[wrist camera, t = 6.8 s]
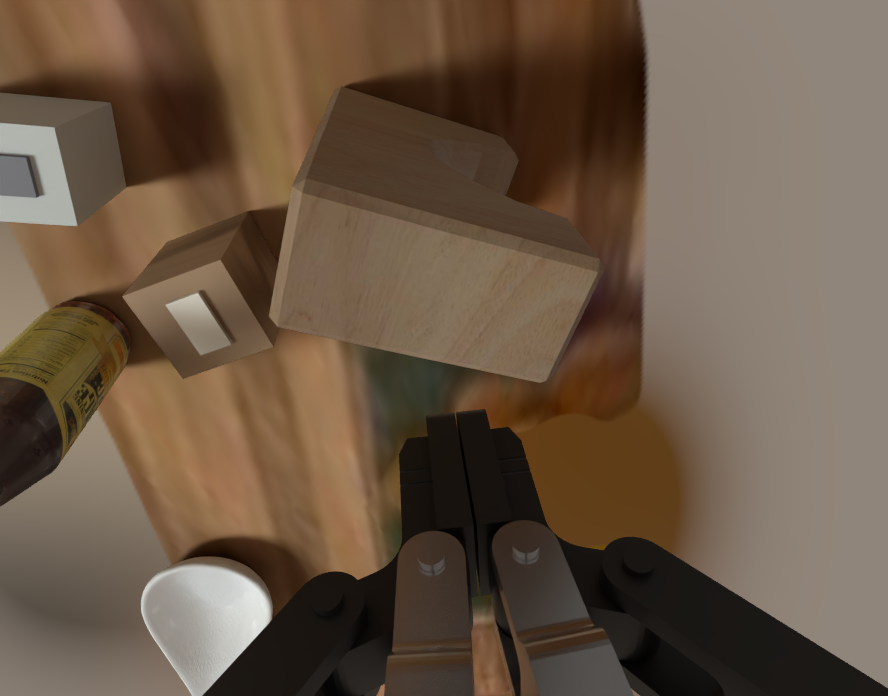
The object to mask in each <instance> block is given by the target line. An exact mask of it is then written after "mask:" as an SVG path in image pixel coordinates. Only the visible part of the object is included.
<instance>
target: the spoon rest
mask: <svg viewBox="0 0 888 696" xmlns="http://www.w3.org/2000/svg"><path fill="white" fill-rule="evenodd" d="M141 611H142V615H143V618H144V621H145V623H146V625H147V628H148V629H149V631H150V633H151V635H152V637H153V638H154V640H155V641H156V642H157V644H158V646H159V647H160V648H161V650H162V651H163V653H164V654H165V656H166V657H167V659H168V660H169V661H170V663H171V664H172V666H173V667H174V669H175V670H176V671H177V673H178V674H179V676H180V677H181V679H182V680H183V682H184V683H185V685H186V686H187V688H188V690H189V691H190V693H191V694H192V696H202V695H203V694H204V693H205V692H206V691H207V690H208V689H209V688H210V687H211V686H212V685H213V683H214V682H215V681H216V680H217V679H218V678H219V677H220V676H221V675H222V674H223V673H224V671H225V670H226V669H227V668H228V667H229V666H230V665H231V664H232V663H233V662H234V661H235V660H236V658H237V657H238V656H239V655H240V654H241V653H242V652H243V651H244V650H245V649H246V648H247V646H248V645H249V644H250V643H251V642H252V641H253V640H254V639H255V638H256V637H257V636H258V635H259V633H260V632H261V631H262V630H263V629H264V628H265V627H266V626H267V625H268V624H269V623H270V621H271V620H272V614H273V605H272V599H271V596H270V593H269V590H268V588H267V586H266V585H265V583H264V582H263V580H262V579H261V578H260V577H259V576H258V575H257V574H256V573H255V572H254V571H253V570H252V569H250V568H249V567H247V566H245V565H244V564H242V563H239V562H237V561H234V560H231V559H227V558H222V557H213V556H207V557H195V558H191V559H187V560H184V561H181V562H178V563H175V564H173V565H171V566H169V567H167V568H166V569H164V570H162V571H161V572H159V573H158V574H156V575H155V576H154V577H153V578H152V579H151V580H150V581H149V582H148V584H147V585H146V587H145V589H144V592H143V594H142V599H141Z"/></svg>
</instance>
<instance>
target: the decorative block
mask: <svg viewBox="0 0 888 696" xmlns="http://www.w3.org/2000/svg"><path fill="white" fill-rule="evenodd" d="M518 161H519V160H518V158H517V156H516V154H515V152H514V151H513V150H512V148H511V147H510V146H509V145H508V143H507V142H506V141H505V140H504V138H503V137H501V136H498V135H494V134H491V133H488V132H485V131H482V130H479V129H476V128H472V127H469V126H466V125H463V124H460V123H457V122H453V121H450V120H447V119H444V118H441V117H438V116H434V115H431V114H428V113H425V112H422V111H419V110H415V109H412V108H409V107H406V106H403V105H399V104H396V103H393V102H390V101H387V100H384V99H380V98H377V97H374V96H371V95H368V94H365V93H361V92H358V91H355V90H352V89H349V88H345V87H342V86H341V87H340V88H338V89H336V90H335V91H334V93H333V95H332V97H331V100H330V102H329V104H328V107H327V109H326V111H325V113H324V115H323V118H322V120H321V122H320V124H319V127H318V129H317V131H316V134H315V136H314V138H313V140H312V143H311V145H310V147H309V150H308V152H307V154H306V156H305V158H304V161H303V163H302V165H301V167H300V170H299V172H298V174H297V176H296V179H295V181H294V183H293V185H292V190H291V195H290V201H289V206H288V212H287V218H286V223H285V229H284V234H283V240H282V246H281V251H280V257H279V262H278V268H277V274H276V279H275V285H274V290H273V296H272V302H271V307H270V313H269V317H270V318H271V319H272V321H273V322H274V323H275V324H276V326H277V327H280V328H284V329H289V330H294V331H298V332H303V333H308V334H312V335H317V336H322V337H326V338H331V339H336V340H340V341H345V342H350V343H354V344H359V345H364V346H368V347H373V348H378V349H382V350H387V351H392V352H396V353H401V354H406V355H410V356H415V357H420V358H424V359H429V360H434V361H439V362H443V363H448V364H453V365H458V366H463V367H467V368H472V369H477V370H482V371H487V372H491V373H496V374H501V375H506V376H511V377H515V378H520V379H525V380H530V381H535V382H539V383H541V382H544V381H546V380H548V379H550V378H552V376H553V374H554V372H555V370H556V368H557V366H558V364H559V362H560V360H561V358H562V356H563V354H564V352H565V350H566V347H567V345H568V343H569V341H570V339H571V337H572V335H573V333H574V331H575V329H576V327H577V325H578V323H579V321H580V319H581V317H582V315H583V313H584V311H585V308H586V306H587V304H588V302H589V300H590V298H591V296H592V294H593V292H594V290H595V288H596V286H597V284H598V282H599V280H600V278H601V276H602V274H603V271H604V269H603V267H602V264H601V262H600V259H599V258H598V256H597V255H596V254H595V253H594V251H593V250H592V249H591V248H590V246H589V245H588V244H587V243H586V241H585V240H584V239H583V238H582V236H581V235H580V234H579V233H578V231H577V230H576V229H575V228H574V226H573V225H572V224H571V223H570V221H569V220H568V219H567V218H564V217H561V216H558V215H555V214H552V213H550V212H547V211H544V210H541V209H538V208H535V207H532V206H529V205H526V204H524V203H521V202H518V201H515V200H513V199H511V198H509V197H507V196H506V194H507V191H508V188H509V186H510V183H511V180H512V178H513V175H514V172H515V169H516V167H517V164H518Z"/></svg>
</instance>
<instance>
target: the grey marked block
mask: <svg viewBox="0 0 888 696" xmlns="http://www.w3.org/2000/svg"><path fill="white" fill-rule="evenodd" d="M125 188H126V182H125V177H124V171H123V166H122V160H121V155H120V149H119V144H118V139H117V133H116V128H115V122H114V117H113V111H112V106H111V103H110V102H99V101H88V100H77V99H66V98H55V97H44V96H33V95H22V94H11V93H0V221H5V222H20V223H36V224H52V225H67V226H78V225H80V224H81V223H82V222H83V221H85V220H86V219H87V218H88V217H90V216H91V215H92V214H93V213H95V212H96V211H97V210H99V209H100V208H101V207H102V206H104V205H105V204H106V203H107V202H109V201H110V200H111V199H112V198H114V197H115V196H116V195H117V194H119V193H120V192H121V191H122V190H124V189H125Z"/></svg>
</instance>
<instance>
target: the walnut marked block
mask: <svg viewBox="0 0 888 696" xmlns="http://www.w3.org/2000/svg"><path fill="white" fill-rule="evenodd" d="M277 268H278V263H277V261H276V260H275V258H274V256H273V254H272V252H271V251H270V249H269V247H268V245H267V243H266V241H265V240H264V238H263V236H262V234H261V232H260V231H259V229H258V227H257V225H256V223H255V221H254V220H253V218H252V216H251V214H250V212H249V211H248V212H245V213H242V214H240V215H237V216H234V217H232V218H229V219H226V220H224V221H221V222H219V223H216V224H213V225H211V226H208V227H205V228H203V229H200V230H197V231H195V232H192V233H190V234H187V235H184V236H182V237H179V238H176V239H174V240H171V241H168V242H167V243H166V244H165V245H164V246H163V248H162V249H161V250H160V251H159V252H158V254H157V255H156V256H155V257H154V258H153V260H152V261H151V262H150V263H149V264H148V266H147V267H146V268H145V269H144V270H143V272H142V273H141V274H140V275H139V276H138V278H137V279H136V280H135V281H134V282H133V284H132V285H131V286H130V287H129V288H128V290H127V291H126V292H125V293H124V294H123V296H122V297H123V299H124V300H125V301H126V303H127V304H128V305H129V307H130V308H131V309H132V311H133V312H134V313H135V315H136V316H137V317H138V319H139V320H140V321H141V323H142V324H143V326H144V327H145V328H146V330H147V331H148V332H149V334H150V335H151V336H152V338H153V339H154V340H155V342H156V343H157V344H158V346H159V347H160V348H161V350H162V351H163V352H164V354H165V355H166V357H167V358H168V359H169V361H170V362H171V363H172V365H173V366H174V367H175V369H176V370H177V371H178V373H179V374H180V375H181V377H182V378H183V379H184V378H187V377H190V376H193V375H195V374H198V373H201V372H204V371H207V370H210V369H212V368H215V367H218V366H221V365H224V364H227V363H229V362H232V361H235V360H238V359H241V358H244V357H247V356H249V355H252V354H255V353H258V352H261V351H264V350H266V349H269V348H272V347H274V343H275V340H276V337H277V333H278V330H279V327H277V326H276V324H275V323H274V322H273V321H272V319H271V318H270V317H269V313H270V307H271V302H272V296H273V290H274V285H275V279H276V274H277Z"/></svg>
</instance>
